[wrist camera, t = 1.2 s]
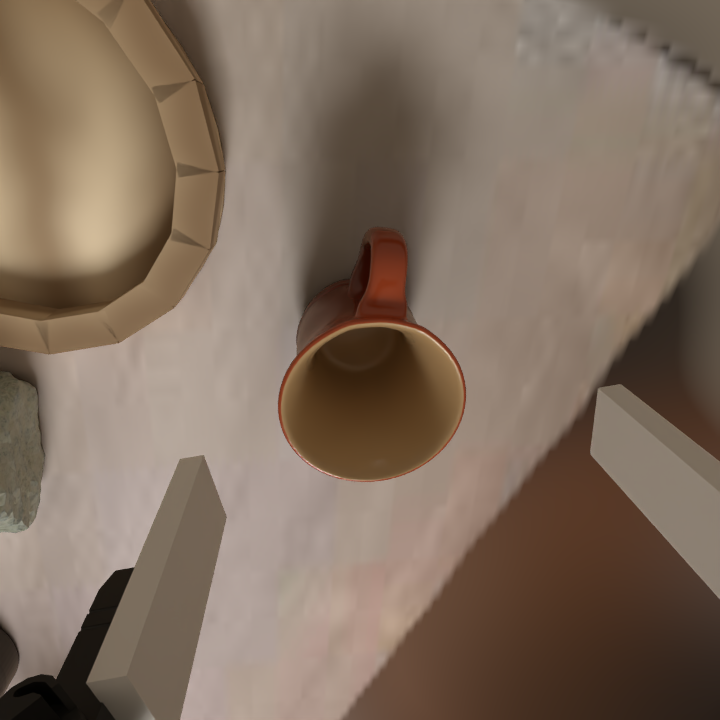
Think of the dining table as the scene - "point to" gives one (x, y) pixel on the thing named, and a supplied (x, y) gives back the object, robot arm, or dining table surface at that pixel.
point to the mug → (370, 375)
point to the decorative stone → (19, 454)
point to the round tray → (99, 172)
